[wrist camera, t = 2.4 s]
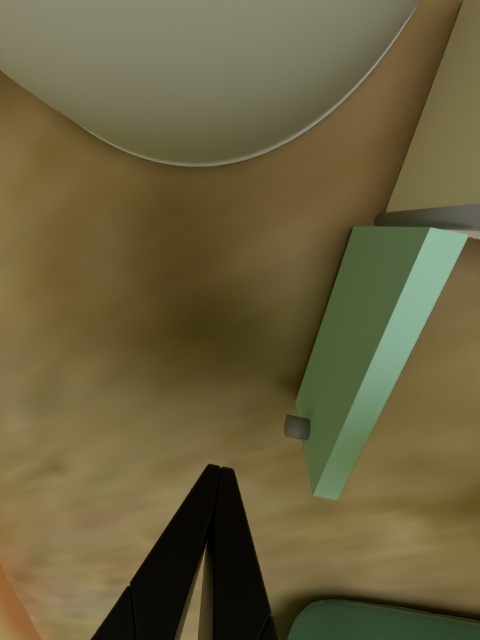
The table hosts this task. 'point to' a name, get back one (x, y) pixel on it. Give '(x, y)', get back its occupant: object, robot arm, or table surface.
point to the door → (366, 342)
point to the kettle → (196, 68)
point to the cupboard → (445, 143)
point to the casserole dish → (377, 623)
